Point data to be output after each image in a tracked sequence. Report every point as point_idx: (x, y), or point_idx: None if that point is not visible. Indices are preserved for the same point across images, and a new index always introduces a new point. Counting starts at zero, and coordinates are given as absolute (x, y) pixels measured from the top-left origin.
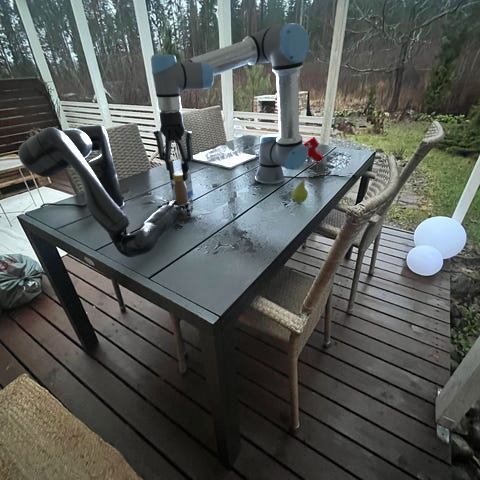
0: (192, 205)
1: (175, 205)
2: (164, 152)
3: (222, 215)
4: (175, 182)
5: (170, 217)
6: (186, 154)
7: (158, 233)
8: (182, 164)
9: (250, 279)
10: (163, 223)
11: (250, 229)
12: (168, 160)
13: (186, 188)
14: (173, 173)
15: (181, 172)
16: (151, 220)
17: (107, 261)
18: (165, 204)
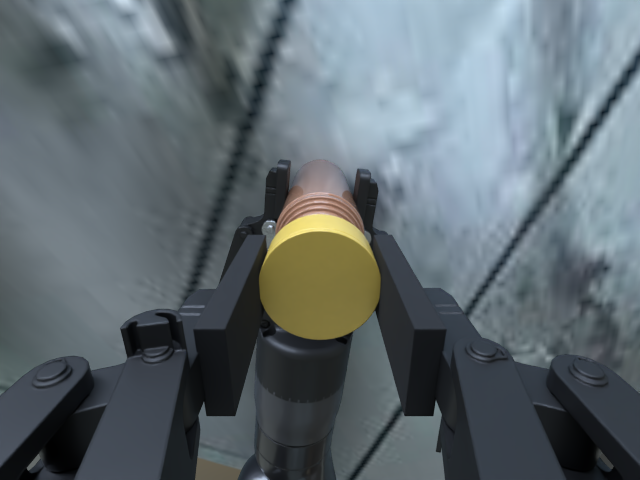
0: None
1: None
2: (19, 465)
3: (503, 140)
4: None
5: (340, 395)
6: (539, 449)
7: (330, 454)
8: (415, 404)
9: None
10: (331, 432)
11: (626, 244)
12: (196, 411)
13: (363, 228)
14: (267, 291)
15: (337, 251)
16: (294, 469)
17: (208, 456)
18: None
